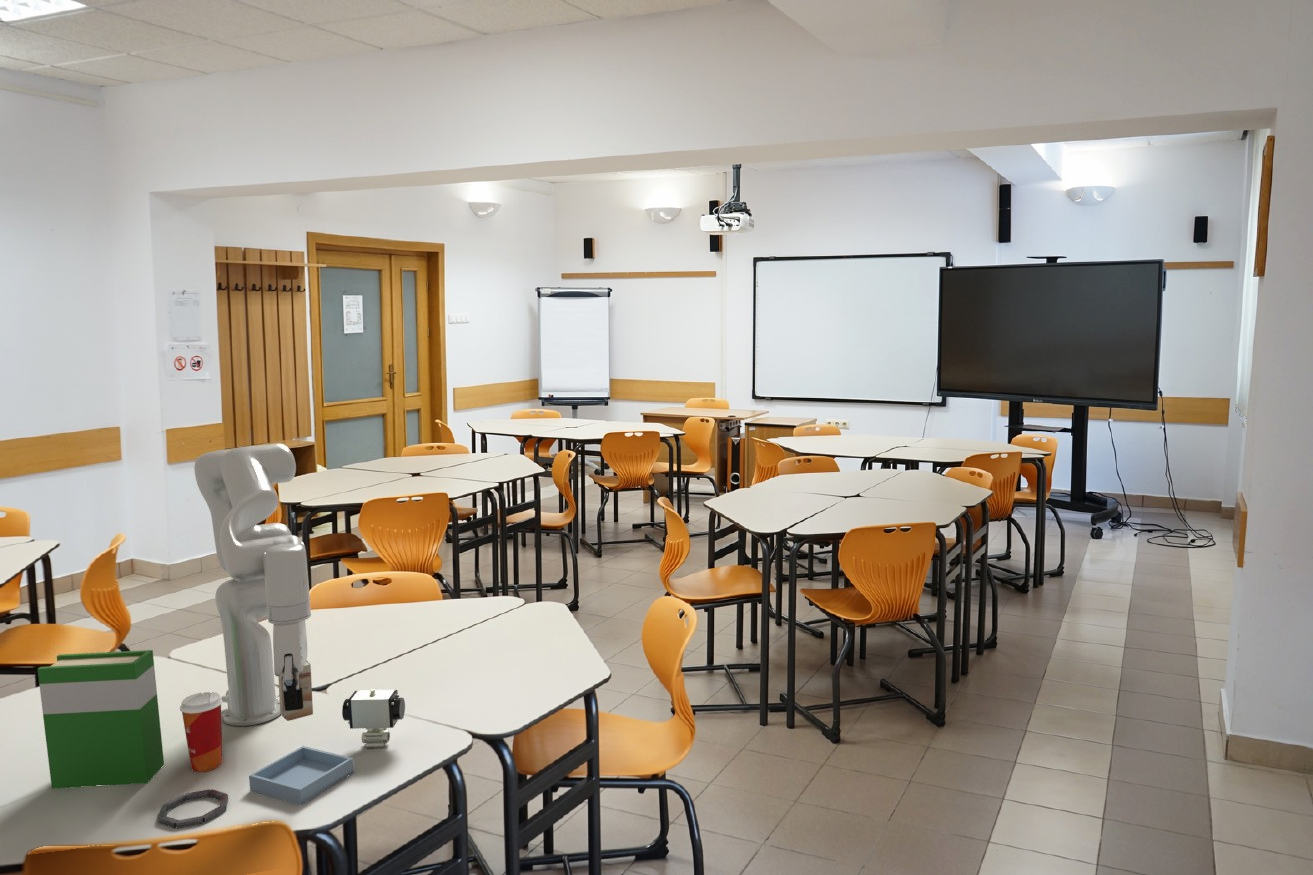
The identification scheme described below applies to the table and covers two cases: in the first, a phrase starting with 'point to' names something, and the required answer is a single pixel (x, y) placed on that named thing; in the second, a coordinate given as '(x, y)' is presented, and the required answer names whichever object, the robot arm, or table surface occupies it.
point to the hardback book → (101, 719)
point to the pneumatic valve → (374, 714)
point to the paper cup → (203, 730)
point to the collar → (195, 820)
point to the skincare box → (306, 693)
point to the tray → (301, 775)
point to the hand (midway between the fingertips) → (296, 701)
